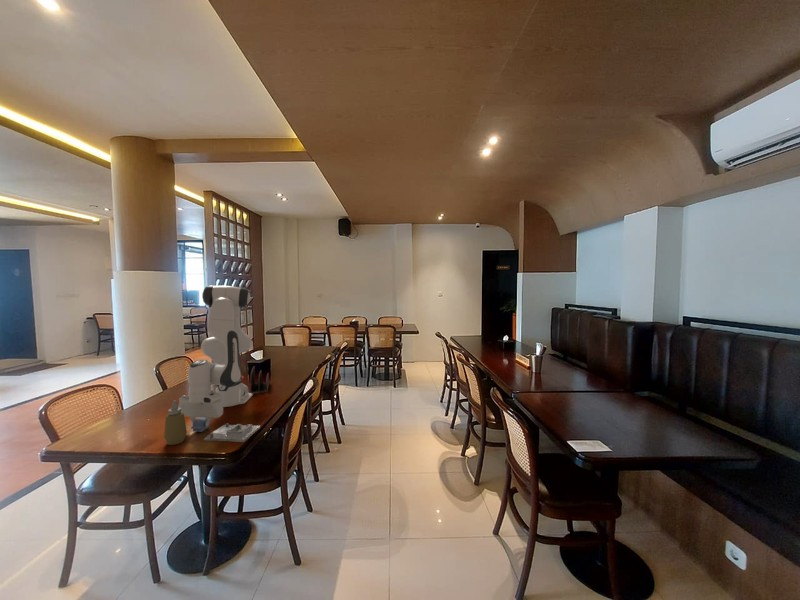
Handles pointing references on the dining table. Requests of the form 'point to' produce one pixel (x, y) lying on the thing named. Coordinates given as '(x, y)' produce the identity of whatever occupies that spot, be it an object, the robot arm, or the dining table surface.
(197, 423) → the servo
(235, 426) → the chassis
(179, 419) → the squeeze bottle
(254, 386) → the letter holder
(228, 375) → the robot arm
